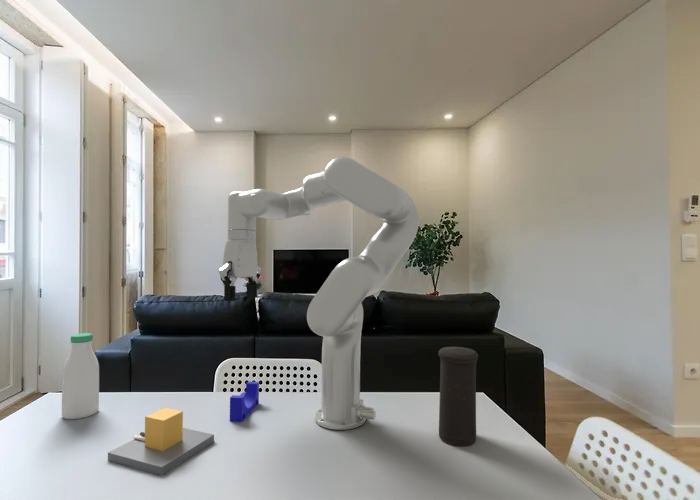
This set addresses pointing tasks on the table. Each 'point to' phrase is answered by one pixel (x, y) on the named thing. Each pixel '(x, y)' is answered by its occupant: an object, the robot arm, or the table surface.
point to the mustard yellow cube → (163, 428)
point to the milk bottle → (80, 379)
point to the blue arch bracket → (244, 402)
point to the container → (457, 396)
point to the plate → (160, 452)
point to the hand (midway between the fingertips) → (241, 298)
